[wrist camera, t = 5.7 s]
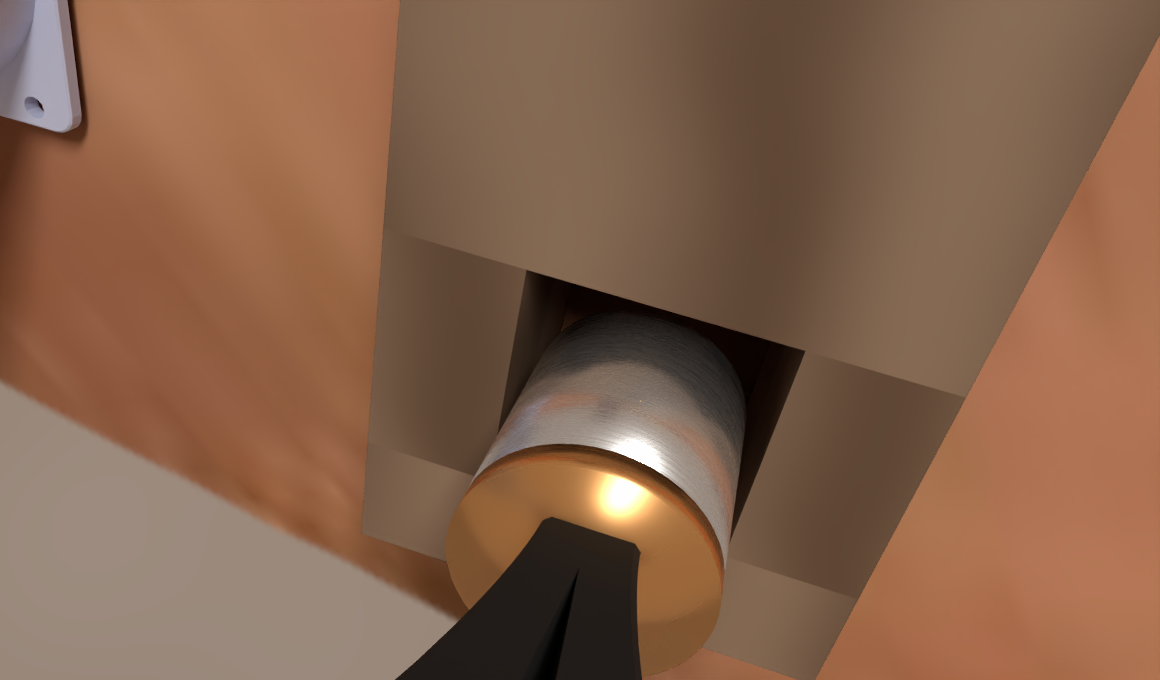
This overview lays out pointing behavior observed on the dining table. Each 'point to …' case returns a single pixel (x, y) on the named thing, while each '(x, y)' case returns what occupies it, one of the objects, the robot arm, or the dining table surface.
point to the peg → (618, 470)
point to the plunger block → (732, 241)
